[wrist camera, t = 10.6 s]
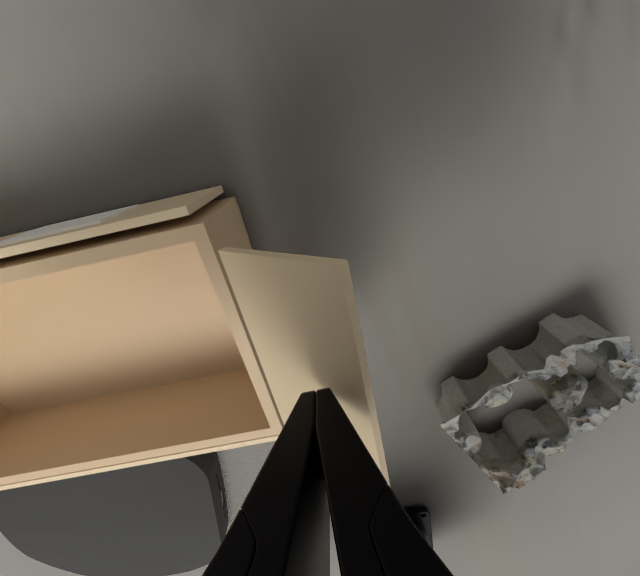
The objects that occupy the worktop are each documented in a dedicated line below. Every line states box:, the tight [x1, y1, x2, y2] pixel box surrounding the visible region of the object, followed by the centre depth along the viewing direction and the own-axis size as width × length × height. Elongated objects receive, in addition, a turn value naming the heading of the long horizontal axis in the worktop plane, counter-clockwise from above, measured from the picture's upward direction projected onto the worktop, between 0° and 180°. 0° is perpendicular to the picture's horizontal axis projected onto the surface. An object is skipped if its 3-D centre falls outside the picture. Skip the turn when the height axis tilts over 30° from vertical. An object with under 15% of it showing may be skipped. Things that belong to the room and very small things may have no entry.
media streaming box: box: [0, 452, 228, 576], centre depth 23 cm, size 15×15×3 cm
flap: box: [218, 247, 390, 486], centre depth 10 cm, size 8×1×5 cm
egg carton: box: [436, 313, 640, 494], centre depth 19 cm, size 11×8×4 cm
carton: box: [0, 185, 284, 491], centre depth 15 cm, size 11×18×5 cm, turn 102°
